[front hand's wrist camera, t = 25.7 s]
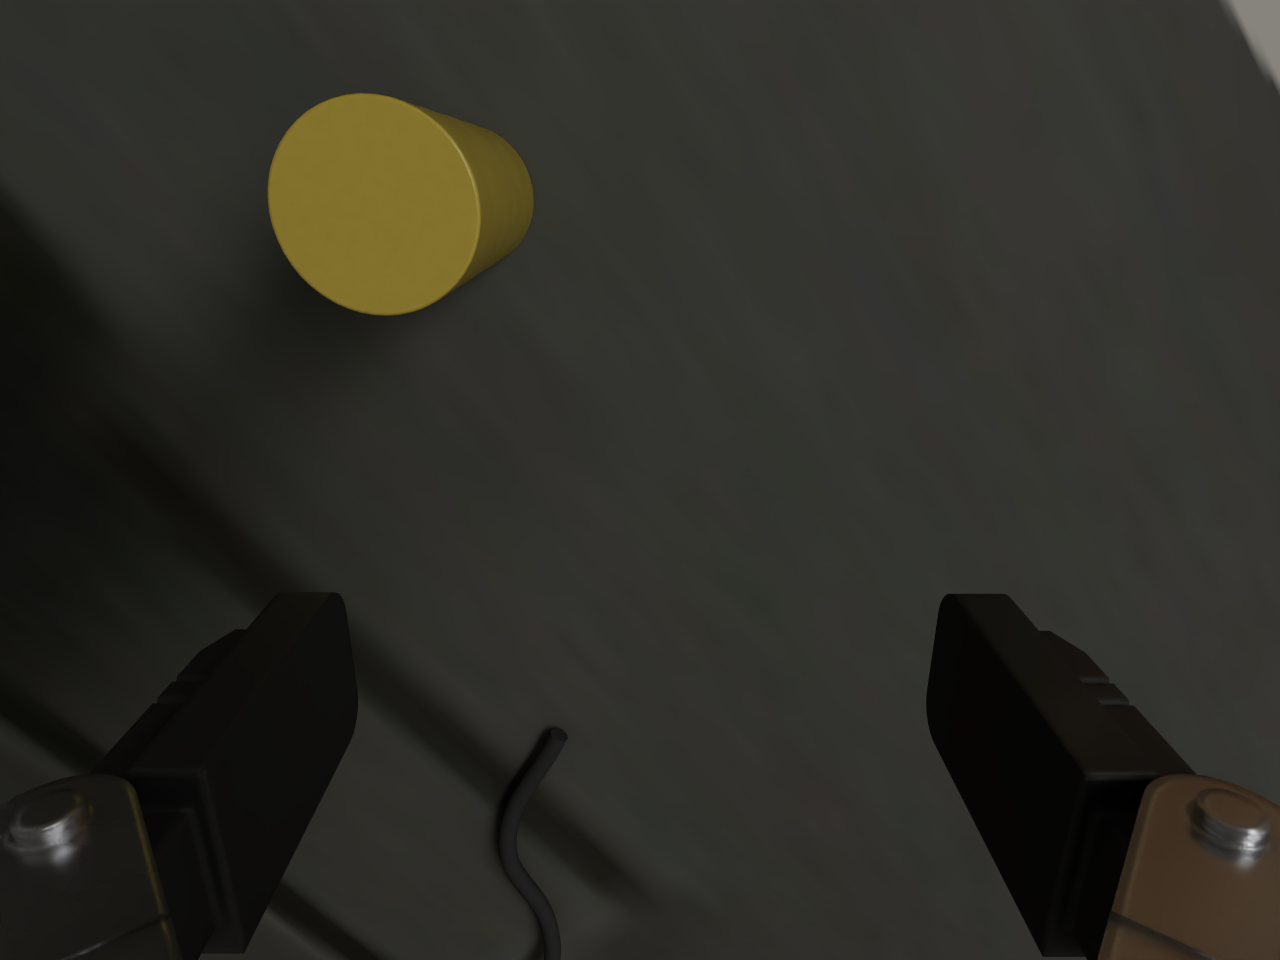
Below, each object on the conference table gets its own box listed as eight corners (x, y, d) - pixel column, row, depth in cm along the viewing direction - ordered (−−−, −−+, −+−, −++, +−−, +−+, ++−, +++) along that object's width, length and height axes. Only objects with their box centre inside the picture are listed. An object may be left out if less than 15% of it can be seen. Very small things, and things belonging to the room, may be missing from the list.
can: (556, 234, 30) (516, 265, 19) (437, 289, 30) (336, 348, 20) (495, 98, 28) (416, 53, 18) (370, 159, 29) (223, 150, 18)
